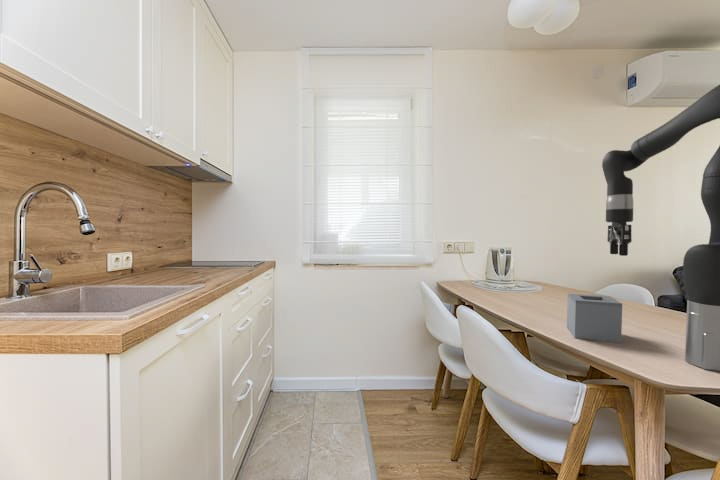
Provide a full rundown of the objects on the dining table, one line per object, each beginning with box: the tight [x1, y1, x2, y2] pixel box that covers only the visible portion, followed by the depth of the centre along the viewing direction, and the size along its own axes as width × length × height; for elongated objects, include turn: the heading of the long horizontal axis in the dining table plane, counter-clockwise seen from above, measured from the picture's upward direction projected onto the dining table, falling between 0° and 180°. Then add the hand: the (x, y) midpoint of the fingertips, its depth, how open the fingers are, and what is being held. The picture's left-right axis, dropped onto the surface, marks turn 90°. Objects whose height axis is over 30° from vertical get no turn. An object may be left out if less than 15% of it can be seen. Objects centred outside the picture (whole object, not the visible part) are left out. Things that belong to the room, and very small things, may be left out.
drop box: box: [566, 293, 623, 344], centre depth 117 cm, size 13×13×13 cm
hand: (618, 254), depth 116 cm, fingers open, 8 cm apart
